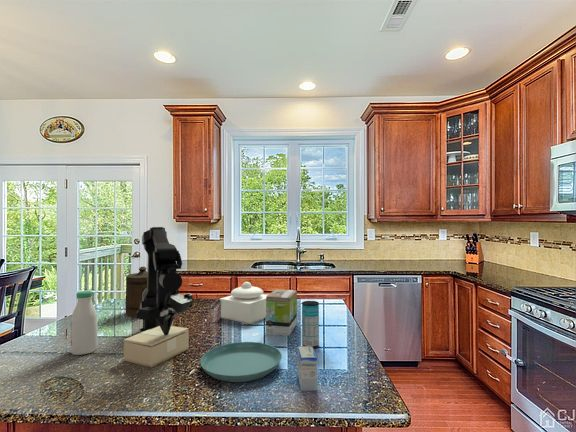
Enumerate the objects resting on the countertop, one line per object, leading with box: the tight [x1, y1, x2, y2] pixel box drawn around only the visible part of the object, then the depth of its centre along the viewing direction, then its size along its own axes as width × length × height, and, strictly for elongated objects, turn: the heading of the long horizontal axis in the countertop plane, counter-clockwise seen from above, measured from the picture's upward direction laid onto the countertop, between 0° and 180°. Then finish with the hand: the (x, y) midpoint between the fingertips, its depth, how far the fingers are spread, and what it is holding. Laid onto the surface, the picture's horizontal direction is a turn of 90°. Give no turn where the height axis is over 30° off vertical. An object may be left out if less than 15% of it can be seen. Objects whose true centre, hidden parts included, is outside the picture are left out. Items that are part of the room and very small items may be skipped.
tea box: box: [265, 288, 298, 336], centre depth 136 cm, size 15×10×15 cm, turn 168°
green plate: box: [200, 341, 283, 383], centre depth 101 cm, size 24×24×3 cm
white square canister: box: [219, 281, 269, 325], centre depth 155 cm, size 18×18×16 cm
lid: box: [123, 325, 189, 346], centre depth 110 cm, size 12×16×1 cm
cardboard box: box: [123, 330, 190, 368], centre depth 110 cm, size 12×16×6 cm
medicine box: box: [296, 346, 318, 392], centre depth 90 cm, size 8×4×9 cm, turn 5°
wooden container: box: [124, 266, 147, 317], centre depth 161 cm, size 15×15×22 cm
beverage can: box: [301, 300, 320, 349], centre depth 118 cm, size 6×6×15 cm
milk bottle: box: [70, 290, 98, 356], centre depth 114 cm, size 8×8×20 cm
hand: (166, 334), depth 109 cm, fingers closed
